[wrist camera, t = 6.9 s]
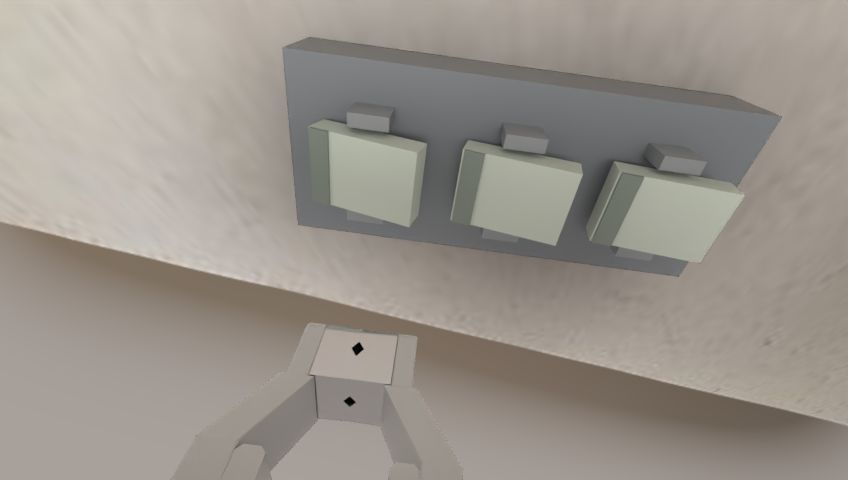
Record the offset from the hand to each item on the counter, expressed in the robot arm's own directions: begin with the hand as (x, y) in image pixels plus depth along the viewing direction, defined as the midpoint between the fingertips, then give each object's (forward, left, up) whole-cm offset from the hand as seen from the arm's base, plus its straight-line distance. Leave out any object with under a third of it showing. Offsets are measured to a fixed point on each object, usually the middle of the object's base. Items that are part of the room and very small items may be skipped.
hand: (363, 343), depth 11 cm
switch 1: (+2, 0, -11) cm, 11 cm away
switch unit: (-6, 0, -16) cm, 17 cm away
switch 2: (-6, 0, -11) cm, 12 cm away
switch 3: (-13, 0, -11) cm, 17 cm away
